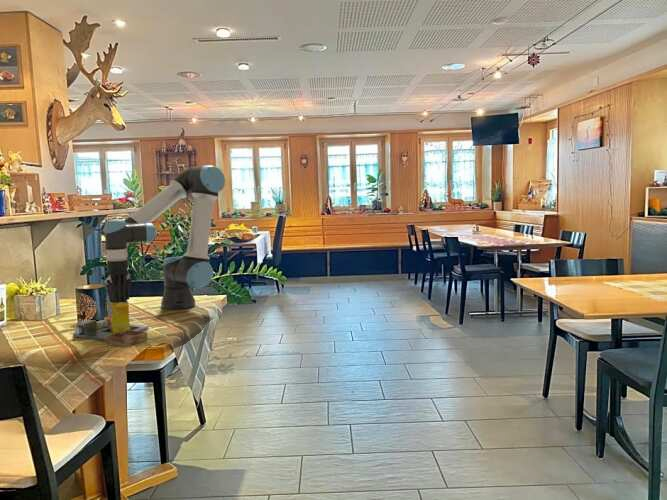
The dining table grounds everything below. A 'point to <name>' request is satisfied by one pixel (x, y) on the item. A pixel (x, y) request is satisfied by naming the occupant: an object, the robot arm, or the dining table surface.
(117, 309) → the supplement box
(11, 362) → the dining table surface
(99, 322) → the drift key
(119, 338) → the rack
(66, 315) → the dining table surface
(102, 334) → the socket block
